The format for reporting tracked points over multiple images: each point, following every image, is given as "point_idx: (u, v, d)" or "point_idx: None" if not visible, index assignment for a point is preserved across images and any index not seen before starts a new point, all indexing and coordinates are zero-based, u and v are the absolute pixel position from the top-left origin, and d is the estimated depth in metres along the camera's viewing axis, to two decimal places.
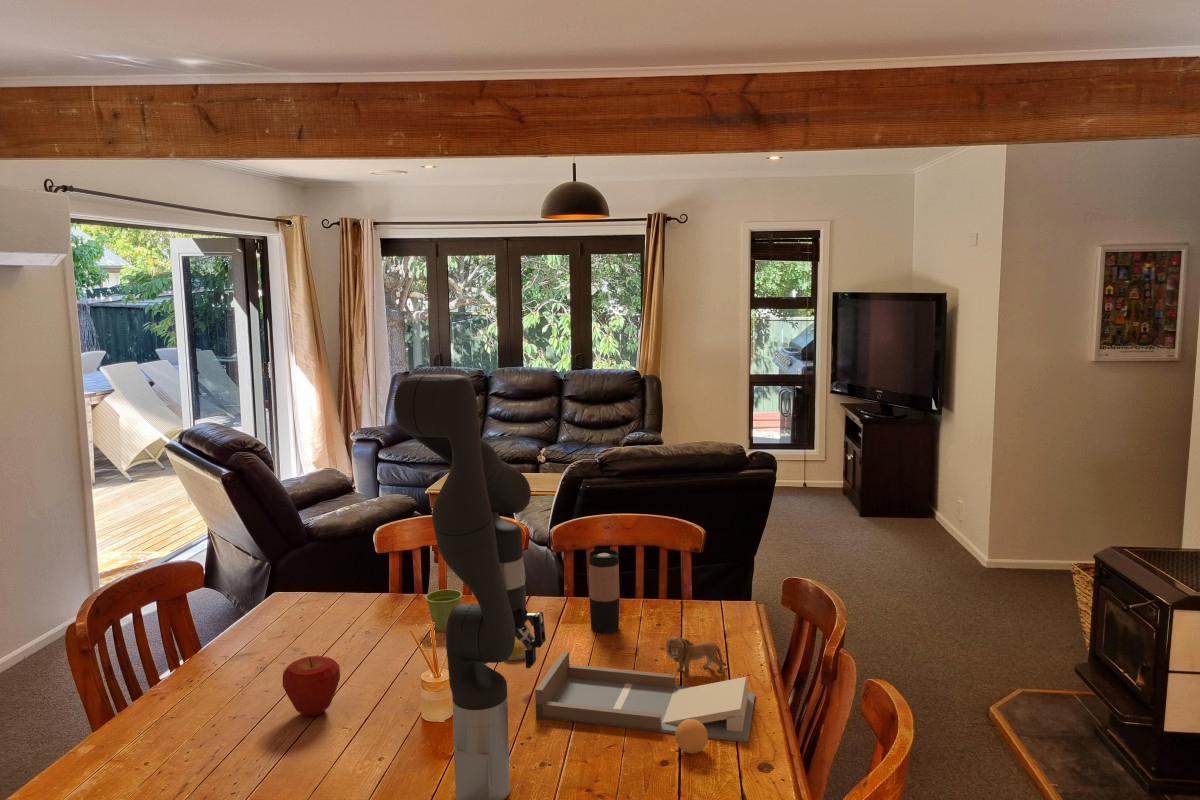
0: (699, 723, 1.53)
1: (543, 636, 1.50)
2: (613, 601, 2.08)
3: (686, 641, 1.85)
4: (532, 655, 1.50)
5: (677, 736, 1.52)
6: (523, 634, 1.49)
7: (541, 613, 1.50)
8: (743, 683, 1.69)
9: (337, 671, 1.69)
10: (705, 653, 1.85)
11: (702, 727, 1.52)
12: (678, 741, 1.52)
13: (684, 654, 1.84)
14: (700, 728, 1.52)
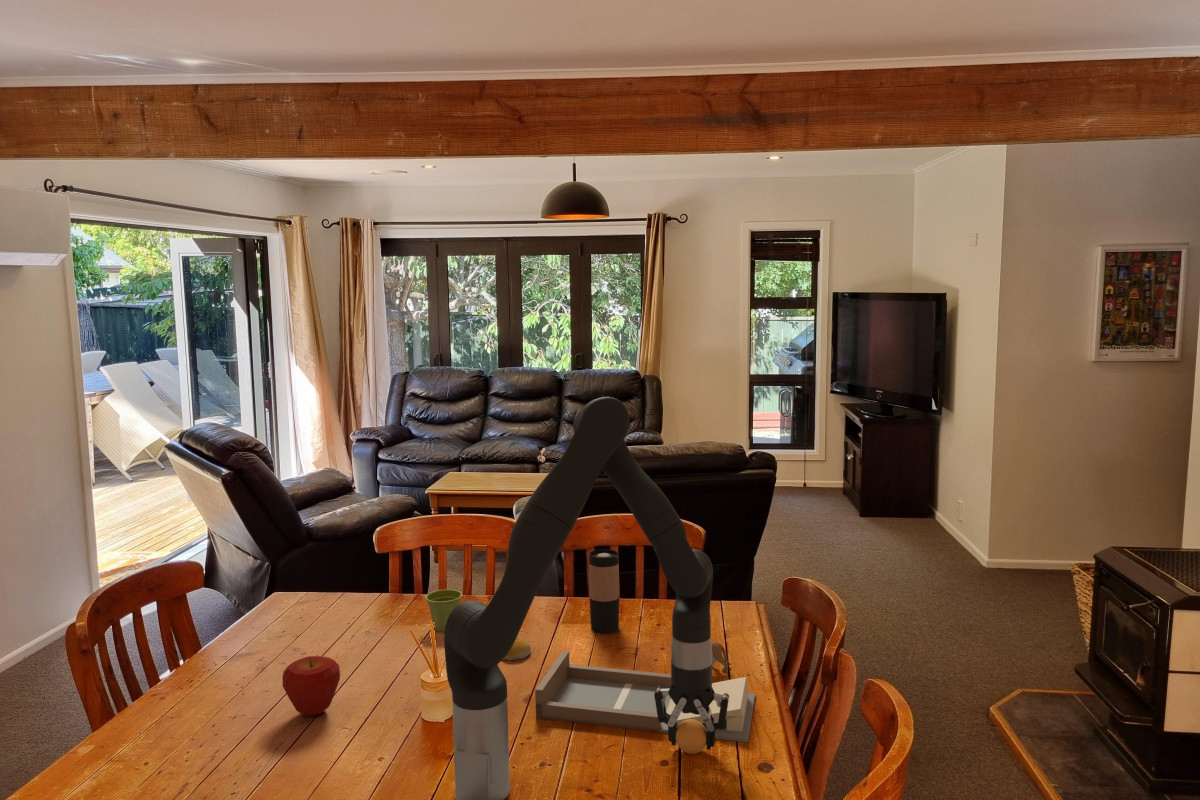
0: (699, 723, 1.53)
1: None
2: (613, 601, 2.08)
3: None
4: (713, 736, 1.51)
5: (677, 736, 1.52)
6: (708, 715, 1.51)
7: (728, 696, 1.51)
8: (743, 683, 1.69)
9: (337, 671, 1.69)
10: None
11: (702, 727, 1.52)
12: (678, 741, 1.52)
13: None
14: (700, 728, 1.52)
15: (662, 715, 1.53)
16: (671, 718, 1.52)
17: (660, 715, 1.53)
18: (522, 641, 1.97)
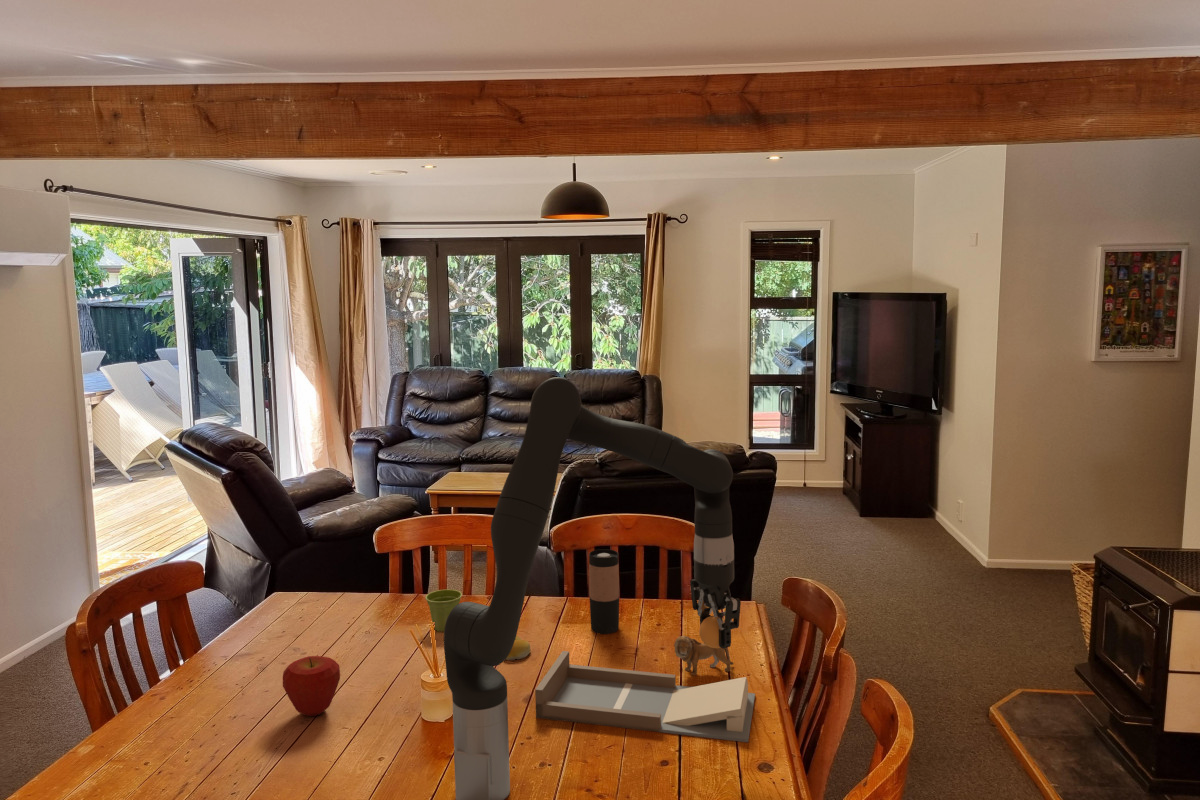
0: None
1: (736, 622, 1.52)
2: (613, 601, 2.08)
3: (694, 641, 1.86)
4: (724, 636, 1.53)
5: None
6: (718, 613, 1.53)
7: (738, 601, 1.50)
8: (743, 683, 1.69)
9: (337, 671, 1.69)
10: (713, 652, 1.86)
11: None
12: None
13: (693, 654, 1.84)
14: (716, 624, 1.55)
15: (694, 603, 1.61)
16: (699, 608, 1.59)
17: (693, 603, 1.61)
18: (522, 641, 1.97)
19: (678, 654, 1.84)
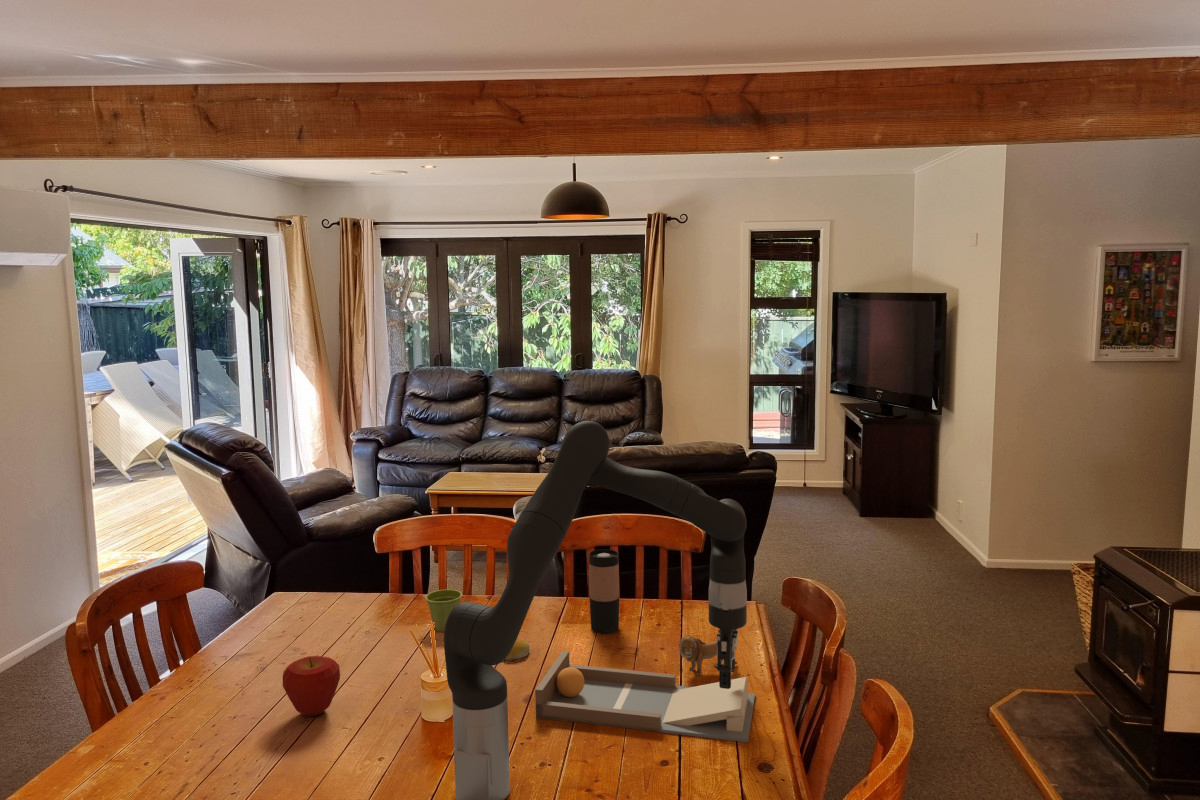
0: (579, 681, 1.72)
1: (727, 665, 1.58)
2: (613, 601, 2.08)
3: (698, 640, 1.86)
4: (721, 676, 1.61)
5: None
6: None
7: (727, 643, 1.58)
8: (743, 683, 1.69)
9: (337, 671, 1.69)
10: None
11: (575, 681, 1.72)
12: None
13: (697, 653, 1.84)
14: (575, 678, 1.72)
15: None
16: None
17: None
18: (521, 641, 1.97)
19: (683, 654, 1.84)
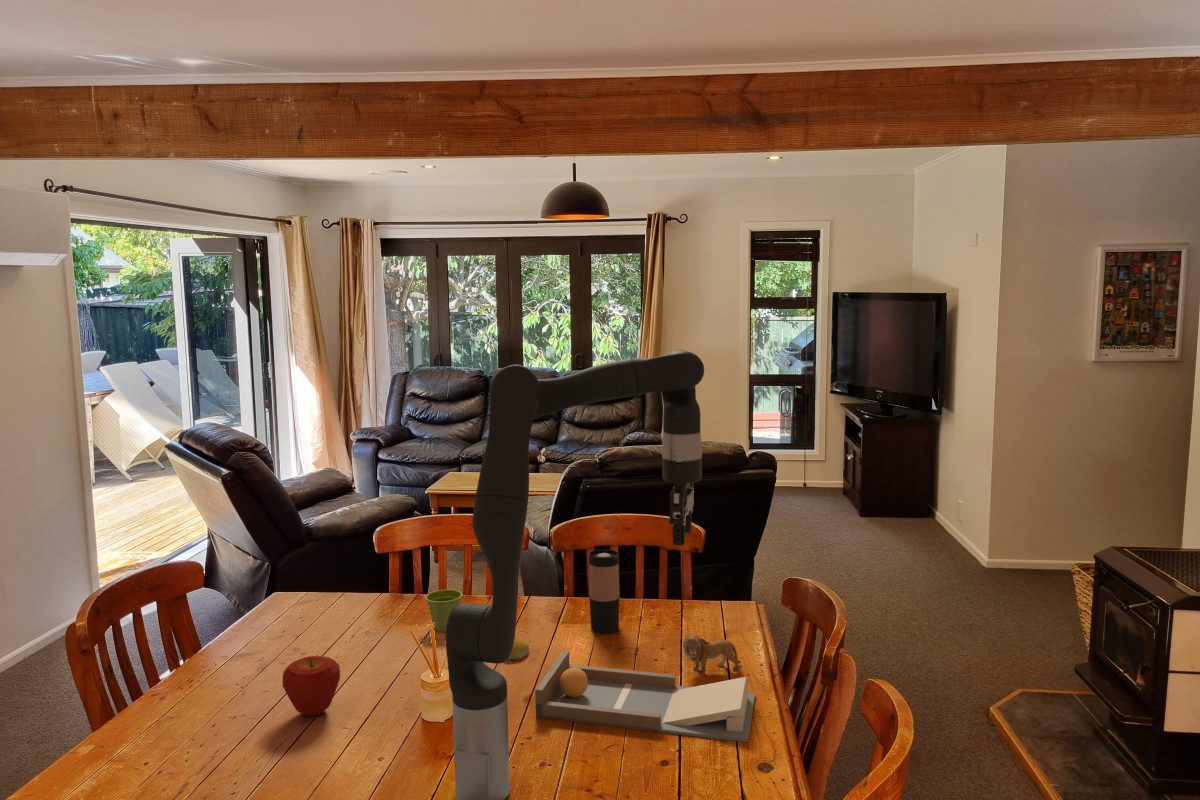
0: (583, 685, 1.72)
1: (680, 518, 1.51)
2: (613, 601, 2.08)
3: (702, 640, 1.86)
4: (674, 532, 1.53)
5: None
6: None
7: (680, 494, 1.51)
8: (743, 683, 1.69)
9: (337, 671, 1.69)
10: (721, 651, 1.86)
11: (580, 684, 1.72)
12: None
13: (701, 653, 1.84)
14: (580, 681, 1.72)
15: None
16: None
17: None
18: (520, 641, 1.97)
19: (687, 654, 1.84)
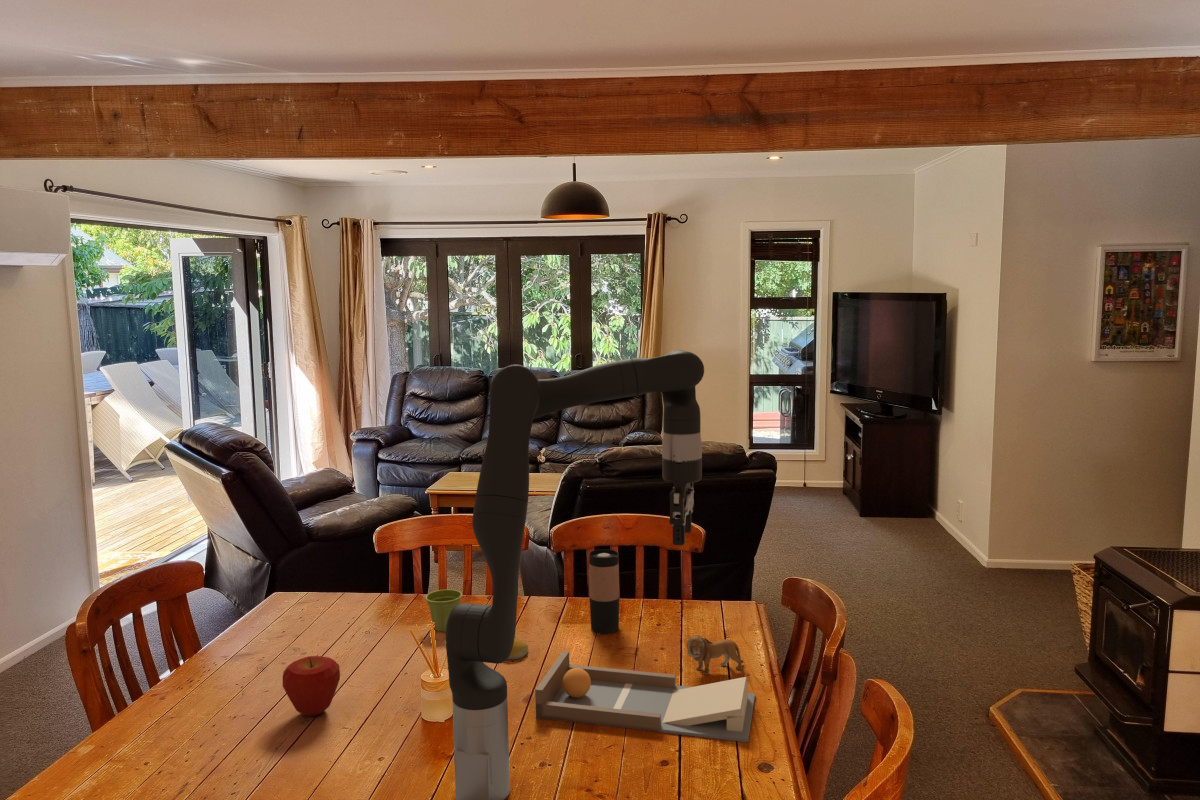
0: (586, 687, 1.72)
1: (680, 518, 1.51)
2: (613, 601, 2.08)
3: (706, 640, 1.86)
4: (674, 532, 1.53)
5: None
6: None
7: (680, 494, 1.51)
8: (743, 683, 1.69)
9: (337, 671, 1.69)
10: (724, 651, 1.86)
11: (584, 686, 1.72)
12: None
13: (705, 653, 1.84)
14: (584, 683, 1.72)
15: None
16: None
17: None
18: (519, 641, 1.97)
19: (691, 654, 1.84)
